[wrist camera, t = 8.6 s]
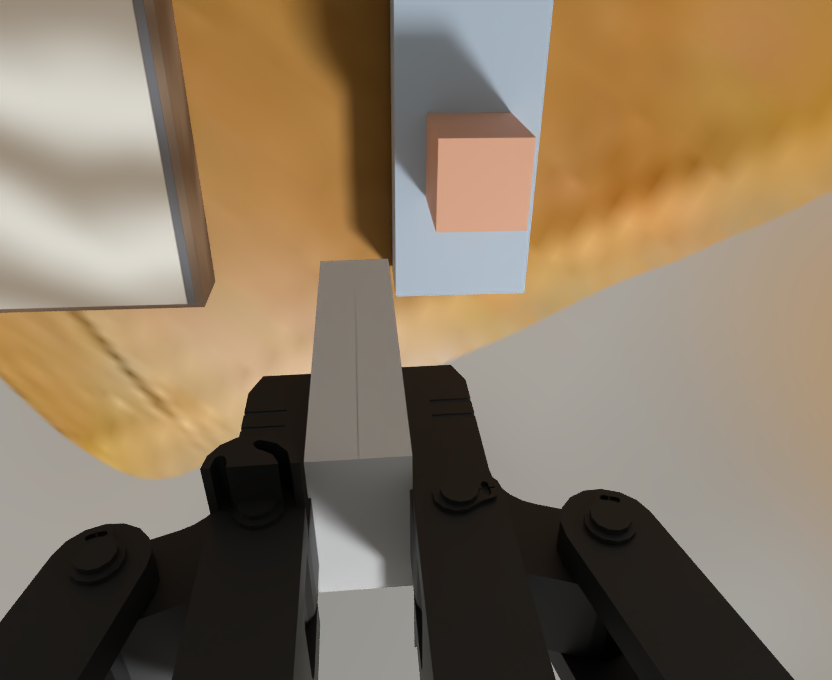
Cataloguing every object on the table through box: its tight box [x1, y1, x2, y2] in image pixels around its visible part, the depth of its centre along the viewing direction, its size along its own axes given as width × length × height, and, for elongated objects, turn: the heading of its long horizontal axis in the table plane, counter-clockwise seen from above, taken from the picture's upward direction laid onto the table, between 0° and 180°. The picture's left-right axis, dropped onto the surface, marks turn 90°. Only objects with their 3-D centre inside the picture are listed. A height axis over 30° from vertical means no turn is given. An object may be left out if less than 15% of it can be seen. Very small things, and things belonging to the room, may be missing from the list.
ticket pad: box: [0, 0, 215, 313], centre depth 32 cm, size 16×12×4 cm
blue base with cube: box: [390, 0, 553, 296], centre depth 32 cm, size 15×7×8 cm, turn 179°
